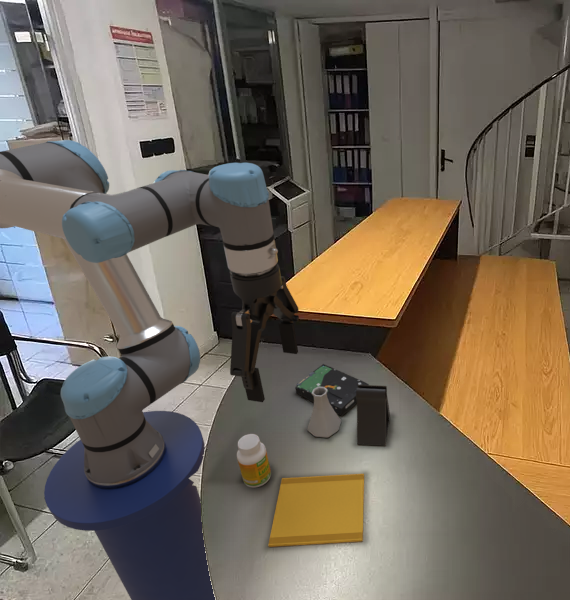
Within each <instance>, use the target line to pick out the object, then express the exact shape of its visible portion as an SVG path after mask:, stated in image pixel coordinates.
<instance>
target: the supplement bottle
mask: <svg viewBox="0 0 570 600" xmlns="http://www.w3.org/2000/svg"><path fill="white" fill-rule="evenodd" d="M237 448H238V449H237V451H236V460H237V463H238V467H239V470H240V474H241V478H242V481H243V483H244V485H245V486H247V487H248V488H258V487H259V488H260V487H262V486H264V485H265V484H266V483H268V482H269V480H270V479H271V477H272V469H271V466H270V460H269V457H268V456H269V455H268V451H267V448H266V445H265V444H264V443H263V442H262V441H261V440H260V437H259V436H258V434H255V433H248V434H245V435H243V436H241V437H240V438H239V439H238V440H237Z"/></svg>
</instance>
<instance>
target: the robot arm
mask: <svg viewBox="0 0 570 600" xmlns="http://www.w3.org/2000/svg"><path fill="white" fill-rule="evenodd" d="M109 190H110V182H109V176H108V173H107V171H106V169H105V167H104V165H103V164H102V162H101V161H100V159H99V158H98V156H96V155H95V154H94V153H93V152H92V151H91V150H90V149H89V148H88V147H86V146H85V145H83V144H82V143H80V142H78V141H76V140H71V139H63V140H55V141H53V140H52V141H51V140H48V141H44V142H40V143H35V144H31V145H26V146H25V145H24V146H21V147H17V148H12V149H7V150H2V151H0V229H10V228H14V227H15V228H19V229H23V230H27V231H31V232H35V233H39V234H44V235H48V236H52V237H55V238H60V239H63V241H64V243H65V245H66V246H67V248H68V250H69V251H70V253H71V254H72V256H73V259H74V260H75V261H76V263H77V265H78V267H79V268H80V270H81V272H82V273H83V276H84V277H85V279H86V280H87V282H88V284H89V285H90V287H91V289H92V290H93V292H94V294H95V296H96V298H97V299H98V301H99V303H100V305H101V306H102V307H103V309H104V311H105V314H107V316H108V318H109V320H110V322H111V324H112V325H113V327H114V328H115V330H116V332H117V333H118V335H119V340H118V342H117V343H116V344H117V345H116V348H117V350H118V351H119V353H120V355H121V356H119V357H116V356H110V355H109V356H100V357H99V358H98V359H94V358H93V359H91V360H89V361H87V362H85V363H83V364H81V365H79V366H78V367H77V368H75V369H74V370H73V371H72V372H70V373H69V375H68V376H67V377H66V378H65V380H64V381H63V383H62V387H60V398H61V401H62V402H63V407H64V411H65V414H66V415H67V416H68V418H69V419H70V421H71V423H72V425H73V427H74V430H75V431H76V434H77V436H78V437H79V440H80V439H81V441H82V443H83V445H84V472H85V475H86V477H87V479H88V481H89V482H90V483H91V484H92V485H93V486H95V487H97V488H100V489H117V488H122V487H125V486H128V485H131V484H133V483H135V482H137V481H139V480H141V479H143V478H144V477H146V476H147V475H149V474H150V473H151V472H152V471H153V470H155V469H156V468H157V466H158V465H159V464H160V463H161V461H162V460H163V458H164V455H165V452H166V445H165V442H164V439H163V437H162V435H161V434H160V433H159V432H158V431H157V430H155V429H154V428H153V427H152V426H151V425H150V424H149V423H148V422H147V421H146V419H145V417H144V414H143V412H144V410H145V409H147V408H148V407H150V406H151V405H152V404H154V403H155V402H156V401H158V400H160V399H161V398H162V397H164V396H165V395H167V394H168V393H169V392H170V391H172V390H174V389H176V387H178V386H179V385H182V384H183V383H185V382H186V381H187V380H188V379H189V378H190V377H191V376H192V375H194V374H196V372H197V371H198V370H199V367H200V364H201V352H200V348H199V345H198V343H197V341H196V339H195V338H194V336H193V335H192V334H191V333H189V330H188V329H186V328H185V327H183V326H181V325H175V324H174V323H173V321H172V320H170V319H166V318H163V317H162V316H161V314H160V313H159V311H158V309H157V307H156V306H155V303H154V302H153V299H152V298H151V296H150V295H149V292H148V291H147V289H146V287H145V285H144V283H143V282H142V280H141V278H140V276H139V274H138V272H137V271H136V269H135V267H134V265H133V263H132V261H131V260H130V258H129V256H128V254H129V253H131V252H134V251H136V250H138V249H140V248H142V247H145V246H147V245H150V244H152V243H155V242H157V241H160V240H162V239H164V238H167V237H169V236H172V235H174V234H176V233H179V232H181V231H184V230H187V229H189V228H192V227H194V226H197V225H204V226H208V227H212V228H219V231H220V235H221V240H222V245H223V249H224V254H225V255H224V256H225V259H226V265H227V268H228V270H229V277H230V281H231V285H232V289H233V292H234V294H235V295H236V296H237V297H239V298H240V299H241V302H242V306H241V307H242V309H241V310H240V311H239V312H238V311H237V312H236V311H233V312H232V313H231V316H230V319H231V326H232V334H231V349H230V368H229V375H230V376H233V377H240V378H241V380H242V385H243V388H244V390H245V393H246V397H247V398H246V399H247V401H252V402H258V403H264V402H265V400H266V397H265V393H264V389H263V384H262V379H261V375H260V374H261V373H260V370H259V367H256V364H257V360H258V359H257V358H258V353H259V347H260V342H261V336H262V332H263V331H264V330H266V326H267V321H268V320H269V318H270V317H271V316H273V315H274V316H275V317H276V318H278V319H279V320H280V321H279V322H278V324H277V325H278V331H279V336H280V341H281V346H282V347H281V348H282V352H283V353H284V354H292V355H293V354H294V355H298V353H299V348H298V342H297V336H296V335H297V334H296V329H295V328H296V327H295V323H296V322H297V323H298V322H299V320H300V316H299V315H298V313H299V306H298V305H297V302H296V301H295V298H294V297H293V295H292V293H291V292H290V289H289V288H288V286H287V282H286V277H285V276H283V275H281V268H280V265H279V263H278V261H279V259H278V258H279V257H278V252H279V250H278V248H277V247H276V246H277V245H276V241H275V233H274V227H273V220H272V215H271V213H272V212H271V205H270V199H269V198H270V193H269V190H268V188H267V184H266V180H265V175H264V172H263V169H262V168H261V167H260V166H259V165H257V164H255V163H252V162H228V163H224V164H220V165H216V166H214V167H212V168H211V169H210V170H209V172H208V174H204V173H201V172H194V171H193V170H187V169H180V170H177V169H176V170H174V169H170V170H165V171H164V172H163V171H162V172H161V173H160V175H158V177H156V179H155V180H154V181H153V183H149V184H146V185H142V186H140V187H137V188H133V189H129V190H126V191H123V192H120V193H114V194H110V193H108V192H109ZM254 323H255V324H254ZM256 323H258V324H256Z"/></svg>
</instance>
